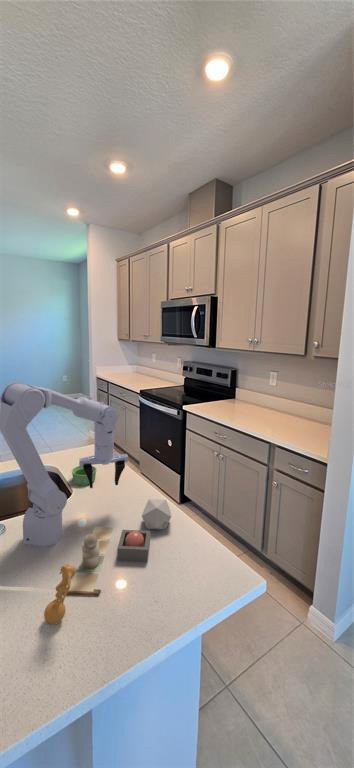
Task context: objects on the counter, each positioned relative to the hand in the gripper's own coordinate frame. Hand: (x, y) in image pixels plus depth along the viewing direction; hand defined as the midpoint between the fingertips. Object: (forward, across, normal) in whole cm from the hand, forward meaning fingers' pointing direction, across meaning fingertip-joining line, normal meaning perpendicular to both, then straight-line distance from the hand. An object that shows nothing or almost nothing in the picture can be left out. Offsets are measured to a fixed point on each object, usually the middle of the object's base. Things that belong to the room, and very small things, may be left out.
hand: (103, 485), depth 102 cm
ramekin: (+10, -4, +24) cm, 26 cm away
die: (+10, +14, -11) cm, 20 cm away
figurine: (+10, -13, -36) cm, 39 cm away
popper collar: (+9, +5, -21) cm, 24 cm away
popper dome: (+9, +5, -21) cm, 23 cm away
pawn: (+9, -6, -22) cm, 25 cm away
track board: (+9, -5, -20) cm, 22 cm away
